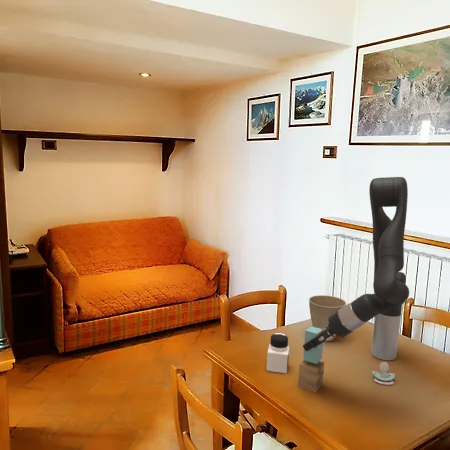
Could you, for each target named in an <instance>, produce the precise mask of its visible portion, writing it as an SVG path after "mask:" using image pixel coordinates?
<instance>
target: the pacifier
mask: <svg viewBox="0 0 450 450" xmlns="http://www.w3.org/2000/svg"><path fill="white" fill-rule="evenodd" d="M389 369H390V365H389V364H388V363H387V362H386V361H382V362H381V363H380V364H379V371H380V372H378V371H374V370H372V371H371V373H372V375H373V376H374V378H373V380H374V382H375V383H378V384H380V385H385V386H391V385H394V383H395V381H394V380H393V379H395V378H396V374H395V373H393V372H392V373H391V372H390V373H388V371H389Z"/></svg>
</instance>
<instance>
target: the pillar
mask: <svg viewBox="0 0 450 450" xmlns="http://www.w3.org/2000/svg"><path fill="white" fill-rule="evenodd" d="M321 330H322V329H320V328H316V327H313V325H312V326H311V325H310V326H309V327H308V328H306V329H305V331H304V343H303V345H304V344H306V343H307V342H309V341H310V340H311V339H313V338H314V337H315V335H316V334H317V333H318V332H320V331H321ZM320 334H321V333H320ZM323 346H324V343H323V344H320V345H318V346H317V347H316V348H314V347H313V348H312V349H310V350H309V351H305V349H304V348H303V357H302V361H303V360H305V361H308V362H312V363H315V364H317V363H318V362H319V361H321V360H322V359H323V348H324V347H323Z"/></svg>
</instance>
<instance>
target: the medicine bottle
mask: <svg viewBox="0 0 450 450" xmlns="http://www.w3.org/2000/svg"><path fill="white" fill-rule="evenodd" d="M269 342H270V343H269V344H268V349H267V354H266V355H267V356H266V371H267V372H275V373H278V374H279V373H281V374H287V373H288V370H289V358H290V346H289V337H288V335H286V334H284V333H279V332H278V333H273V334H272V335H270V341H269Z"/></svg>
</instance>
